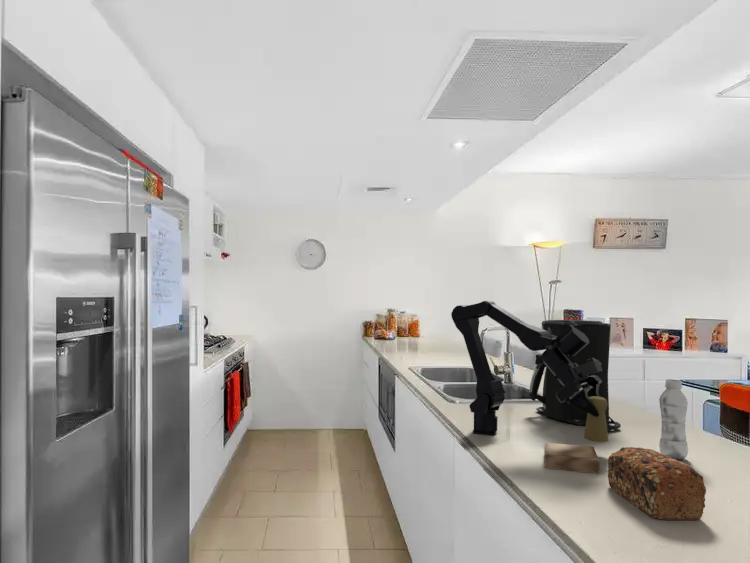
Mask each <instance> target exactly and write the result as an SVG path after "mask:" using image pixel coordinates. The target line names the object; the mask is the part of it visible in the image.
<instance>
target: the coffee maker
mask: <svg viewBox="0 0 750 563" xmlns="http://www.w3.org/2000/svg"><path fill="white" fill-rule="evenodd" d="M568 325H573V326H574V327H575V328H576V329H578V330H579V331H581V332H582V333H584V334H585V335H586V336H587V338H588V339H589V343H588V344H587V345H586V346H585V347H584V348H583V349H582V350H580V351H579V352H578V353H577V354H576V355H575V356H570V355H569V356H566V355H565V356H566V357H567V358H568V359H569V360H570V362H571V363H577V364H578V365H582V364H585V363H587V360H589V359H591V358H595V359H596V360H599V362H600V363H602V365H601V368H602V371H601V372H597V373H594V374H590V375H588V376H592V375H595V376H598V377H599V378H600V379H601V380H602V382H601V383H600V384H599V388H598V394H599V396H600V397H602V398H605V399H606V401H607V409H606V411H607V412H606V413H605V415H606V424H607V432H608V433H609V432H610V431H614V430H617V429H620V428H621V427H622V426H621V423H620V422H618V421H615V420H614V419H613V418H612V417H611V416H610V405H609V403H610V402H609V400H610V399H609V366H610V364H609V362H610V361H609V360H610V344H611V342H610V340H611V327H612V326H611V324H610V323H606V322H603V321H601V320H585V319H583V320H582V319H581V320H580V319H546V320H542V322H541V329H543V330H546V331H548V332H549V333H550V334H551V335H553V336H559V335H560V334H561V333H562V332H563V331H564V330H565V328H566V327H567V326H568ZM554 346H555V345H551V346H550V347H549V348H547V349H552V348H553V347H554ZM531 375H532V376H531V380H530V384H529V389H528V390H529V391H528V396H529V399H530V400H531V401H534V402H536V400H537V401H539V402H541V403H542V406H539V407H535V409H536V411H537V412H539V413H541V414H543V415H545V417H546V418H551V419H555V420H557V421H561V422H566V423H569V424H570V425H571V424H575V425H578V426H586V420H587V414H588V412H586V411H584V410H582V409H580V408H578V407H576V406H574V405H572V404H568V403H567V402H568V401H569V400H570V397H568V398H566V401H565V402H563V403H560V401H559V400H558V399H557V398H556V392H557V391H558V390H560V389H561V388H562V387H563V385H562V384H561V382H560V381H559V380H555V379H554V378H553V377H554V376H555V375H554V374H553V373H552V372H551V370H550V369H549V368H548V367H547V366H546V364H545V363H544V362H543V363H542V364H538V365H536V366H535V368H534V371H533V372H532V374H531ZM543 376H544V377H543ZM542 378H543V385H542V395H539V394H538V392H539V388H540V386H541V381H542Z"/></svg>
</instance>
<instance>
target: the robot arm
mask: <svg viewBox="0 0 750 563" xmlns="http://www.w3.org/2000/svg"><path fill="white" fill-rule="evenodd" d="M450 315H451V319H452V322H453V323H454V325H455V327H456V329H457V330H458V332H460V333H461V335H462V336H463V339H464V343H465V345H466V346H465V347H466V349H467V353H468V355H469V359H470V362H471V365H472V368H473V372H474V375H475V378H476V385H475V395H476V398H474V400H473V401H472V402H470V404H469V409H470V412H471V413H473V429H472V433H473V434H480V435H491V436H494V435H495V434H496V433H497V431H498V420H499V419H498V417H499V416H497V414H496V412H497V411H499V409H500V408H501V405H502V404H504V401H505V399H506V397H505V394H506V390H505V389H504V387H503V386H504V385H503V382H502V380H501V379H496V378H495V377H494V376H493V373H492V371H491V367H490V363H489V361H488V358H487V355H486V352H485V348H484V346H483V342H482V338H481V335H480V332H479V327H480V319H481V318H483V317H486V316H487V317H488V318H490V319H492V320H493V321H494V322H496V323H498V324H499V325H500V326H502V327H503V328H505V329H507V330H509V331H510V332H511V333H513V334H514V335H515V336H516V337H517V338H518V339H519V341H520V343H522V344H523V345H524V346H525V347H526V348H527V349H528V350H529V351H532V352H538V351H543V352H542V353H541V354H535V361H534V364H535V365H536V366H537V365H538V364H542V363H543V362H544V363H545V364H546V366H547V367H548V368H549V369H550V370H551V372H552V373H553V374H554V375H555V376H554V377H553V378H554V379H555V380H559V381H560V382H561V384H562V385H563V387H562V388H561V389H560V390H558V391H557V392H556V398H557V399H558V400H559V401H560V403H563V402H565V401H566V398H568V397H570V400H569V401H568V402H567V403H568V404H572V405H574V406H576V407H578V408H580V409H582V410H584V411H586V412H588V413H589V414H591V415H593V416H595V417H598V416H599V415H600V414H599V412H598V411H597V409H596V408H595V406H594V405H593V403H592V402H591V400H590V399H589V397H592V396H598V397H600V396H599V394H598V388H599V384H600V383H601V382H602V380H601V379H600V378H599V377H598V376H595V375H592V376H588V375H590V374H594V373H597V372H601V371H602V368H601V365H602V363H600V362H599V360H596V359H595V358H591V359H589V360H587V363H585V364H582V365H578V364H577V363H571V362H570V360H569V359H568V358H567V357H566V356H569V355H570V356H575V355H576V354H577V353H578V352H579V351H580V350H582V349H583V348H584V347H585V346H586V345H587V344H588V343H589V339H588V338H587V336H586V335H585V334H584V333H582V332H581V331H579V330H578V329H576V328H575V327H574V326H573V325H568V326H567V327H566V328H565V330H564V331H563V332H562V333H561V334H560V335H559V336H553V335H551V334H550V333H549V332H548V331H546V330H543V329H542V327H539V326H535V325H532V324H529V323H527V322H525V321H523V320H521V319H520V318H519V317H517V316H515V315H514V314H512V313H510V312H509V311H507V310H506V309H504V308H503V307H501V306H500V305H497V303H495V301H492V300H482V301H481V302H478V303H474V304H470V305H465V304H464V305H462V304H461V305H455V307H453V309H452V311H451V314H450ZM551 345H555V346H554V347H553V348H552V349H547V348H549V347H550V346H551ZM565 355H566V356H565ZM606 412H607V411H606V410H605V413H606Z"/></svg>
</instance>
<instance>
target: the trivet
mask: <svg viewBox="0 0 750 563" xmlns="http://www.w3.org/2000/svg"><path fill="white" fill-rule="evenodd" d="M543 454H544V466H545V469H556V470H565V471H572V472H573V471H574V472H583V473H594V474H599V473H600V460H599V457H598V454H597V452H596V450H595V447H594V446H588V445H587V446H585V445H577V444H568V443H567V444H566V443H555V442H544V452H543Z"/></svg>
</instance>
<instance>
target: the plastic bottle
mask: <svg viewBox="0 0 750 563" xmlns="http://www.w3.org/2000/svg"><path fill="white" fill-rule="evenodd" d="M682 384H683V382H682V380H681V379H679V380H678V379H671V378H670V379H665V384H664V387H665V388H666V389H665V390H664V391H663V392H662V393H661V394H660V395H659V396H660V397H659V398H658V401H659V409H660V414H661V415H660V416H661V417H660V418H661V430H660V432H661V433H660V438H659V444H658V447H659V453H661V454H664V455H666V456H669V457H672V458H675V459H676V460H683V459H686V458H687V457H688V454H689V446H688V441H687V435H686V433H687V432H686V421H687V420H686V419H687V411H688V406H689V405H688V404H689V403H688V399H687V397H686V396H685V393H683V391H682V390H681V389H682V388H683V386H682Z"/></svg>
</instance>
